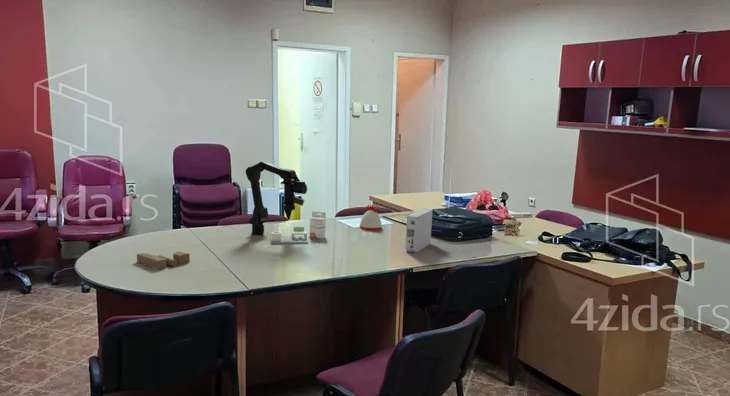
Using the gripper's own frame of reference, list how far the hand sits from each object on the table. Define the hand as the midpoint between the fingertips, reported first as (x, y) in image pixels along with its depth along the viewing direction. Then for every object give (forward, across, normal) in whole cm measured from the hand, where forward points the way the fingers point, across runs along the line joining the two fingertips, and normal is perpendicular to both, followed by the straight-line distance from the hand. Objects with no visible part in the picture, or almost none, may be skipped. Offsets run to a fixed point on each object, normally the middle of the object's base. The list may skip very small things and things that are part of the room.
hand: (288, 219), depth 309 cm
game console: (+11, -21, -71) cm, 75 cm away
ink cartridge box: (+11, +3, -17) cm, 20 cm away
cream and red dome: (+11, +29, -53) cm, 61 cm away
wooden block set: (+12, -48, +59) cm, 77 cm away
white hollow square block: (+10, -7, +7) cm, 14 cm away
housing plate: (+11, -6, 0) cm, 12 cm away
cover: (+10, -2, -6) cm, 12 cm away
